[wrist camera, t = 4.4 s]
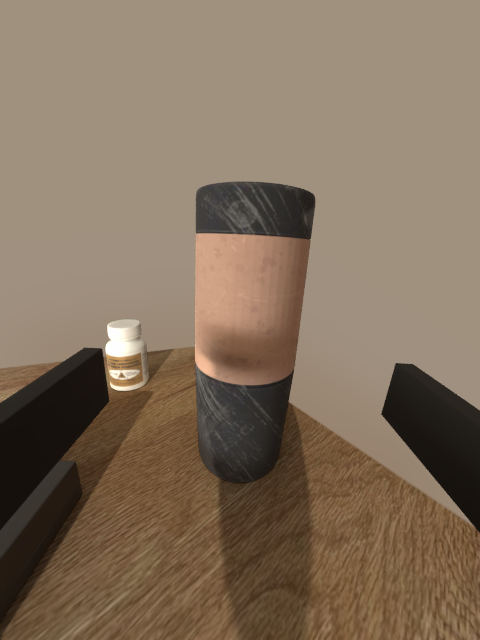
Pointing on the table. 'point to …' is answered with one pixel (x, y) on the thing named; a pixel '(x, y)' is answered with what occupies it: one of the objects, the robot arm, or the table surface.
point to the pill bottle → (126, 355)
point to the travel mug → (247, 319)
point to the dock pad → (35, 528)
